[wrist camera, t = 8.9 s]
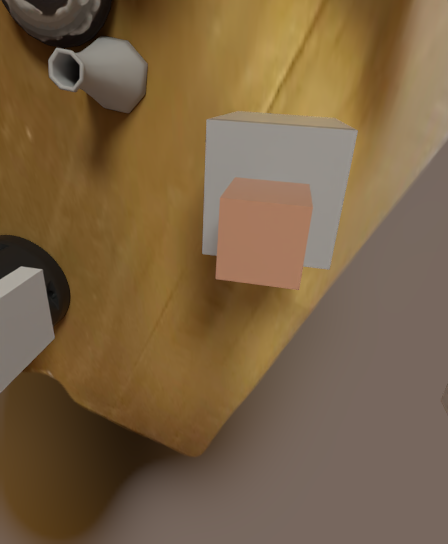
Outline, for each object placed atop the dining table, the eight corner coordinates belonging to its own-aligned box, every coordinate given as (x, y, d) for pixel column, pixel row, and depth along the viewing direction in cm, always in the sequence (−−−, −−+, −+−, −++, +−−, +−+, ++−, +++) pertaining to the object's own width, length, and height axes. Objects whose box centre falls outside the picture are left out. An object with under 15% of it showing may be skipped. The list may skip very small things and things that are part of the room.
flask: (159, 60, 38) (118, 49, 29) (134, 125, 41) (90, 133, 32) (97, 21, 38) (36, -2, 29) (76, 90, 41) (16, 89, 32)
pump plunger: (297, 196, 37) (299, 289, 19) (253, 191, 37) (215, 278, 20) (303, 150, 35) (313, 207, 17) (257, 146, 35) (220, 197, 18)
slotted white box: (318, 212, 42) (329, 269, 28) (231, 203, 43) (202, 253, 29) (334, 118, 37) (357, 130, 24) (238, 111, 39) (206, 119, 25)
